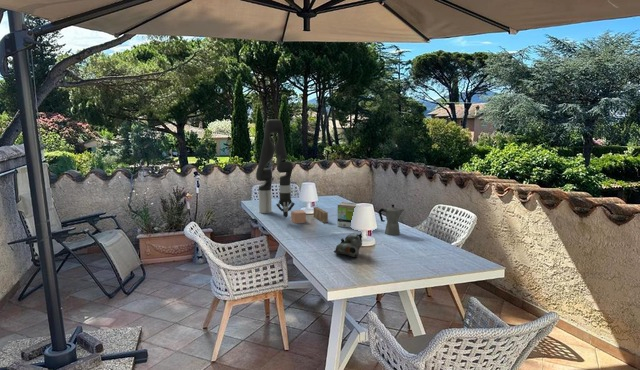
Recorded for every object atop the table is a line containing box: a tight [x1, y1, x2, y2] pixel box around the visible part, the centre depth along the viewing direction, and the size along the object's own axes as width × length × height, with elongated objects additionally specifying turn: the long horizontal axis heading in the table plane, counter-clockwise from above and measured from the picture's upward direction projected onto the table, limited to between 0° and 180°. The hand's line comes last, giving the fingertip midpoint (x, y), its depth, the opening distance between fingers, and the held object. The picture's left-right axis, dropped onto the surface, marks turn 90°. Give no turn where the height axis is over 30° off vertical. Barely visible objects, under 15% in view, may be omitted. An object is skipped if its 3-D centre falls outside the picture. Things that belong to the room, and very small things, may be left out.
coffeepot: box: [377, 204, 404, 236], centre depth 260 cm, size 15×9×18 cm, turn 92°
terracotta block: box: [290, 210, 307, 224], centre depth 292 cm, size 8×8×7 cm
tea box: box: [336, 201, 359, 229], centre depth 279 cm, size 15×10×15 cm
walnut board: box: [313, 206, 329, 224], centre depth 298 cm, size 20×3×7 cm, turn 20°
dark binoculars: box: [333, 232, 363, 259], centre depth 219 cm, size 15×12×14 cm
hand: (285, 216), depth 289 cm, fingers closed
